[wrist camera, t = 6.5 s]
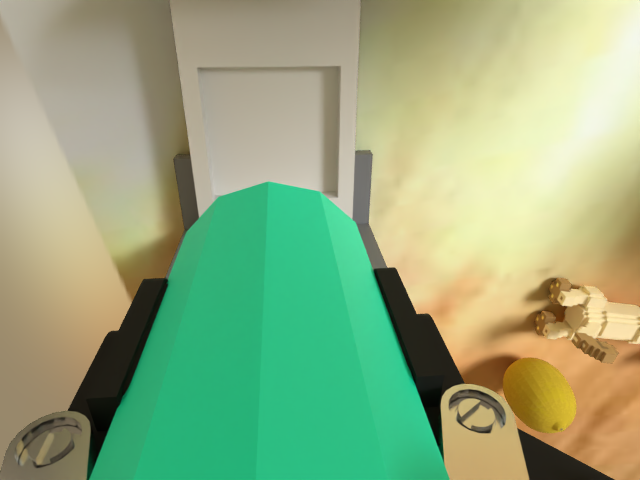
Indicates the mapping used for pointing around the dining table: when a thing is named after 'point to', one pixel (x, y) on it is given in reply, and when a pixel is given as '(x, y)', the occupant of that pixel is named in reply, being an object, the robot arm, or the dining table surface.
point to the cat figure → (589, 320)
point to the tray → (269, 94)
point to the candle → (271, 357)
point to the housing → (359, 202)
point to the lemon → (539, 395)
